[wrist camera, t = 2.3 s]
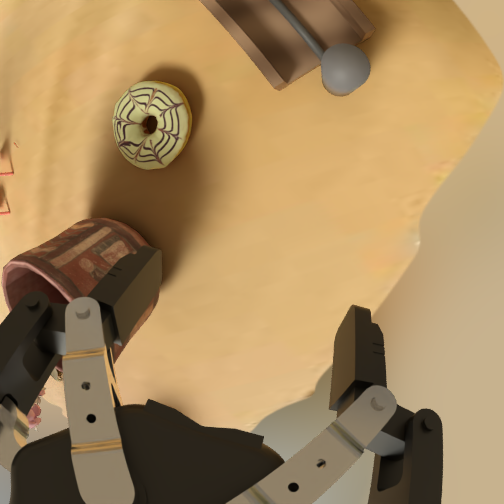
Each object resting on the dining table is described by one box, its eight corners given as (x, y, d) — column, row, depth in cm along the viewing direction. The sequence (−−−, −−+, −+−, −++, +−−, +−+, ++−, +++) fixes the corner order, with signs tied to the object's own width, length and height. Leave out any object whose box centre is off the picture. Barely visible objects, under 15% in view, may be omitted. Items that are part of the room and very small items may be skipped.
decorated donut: (117, 150, 37) (99, 155, 34) (137, 74, 32) (119, 72, 29) (181, 176, 37) (167, 183, 34) (208, 94, 32) (195, 92, 29)
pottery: (130, 180, 39) (28, 232, 23) (198, 287, 43) (134, 379, 28) (67, 233, 46) (-11, 286, 30) (124, 317, 51) (64, 387, 35)
